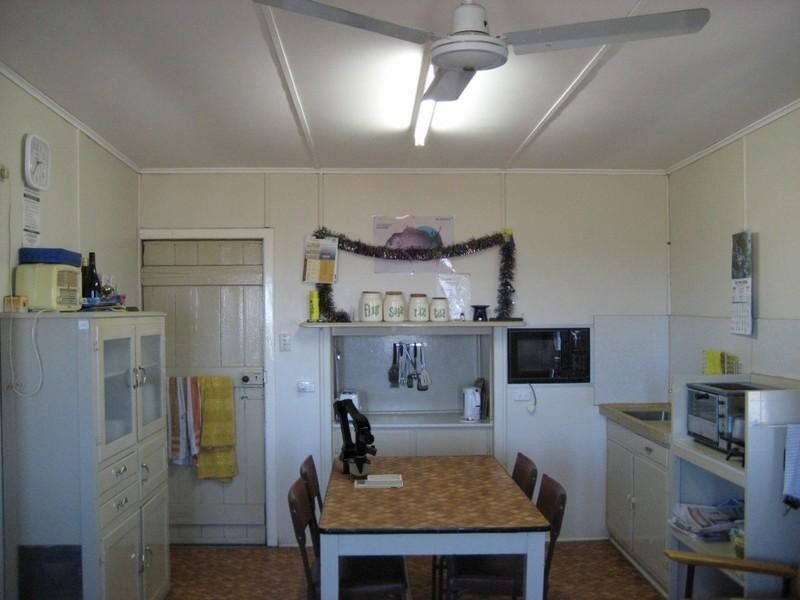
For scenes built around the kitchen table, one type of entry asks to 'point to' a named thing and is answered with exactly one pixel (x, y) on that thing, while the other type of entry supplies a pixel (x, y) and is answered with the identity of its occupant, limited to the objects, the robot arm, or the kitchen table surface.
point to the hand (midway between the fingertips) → (360, 471)
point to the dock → (380, 481)
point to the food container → (355, 473)
